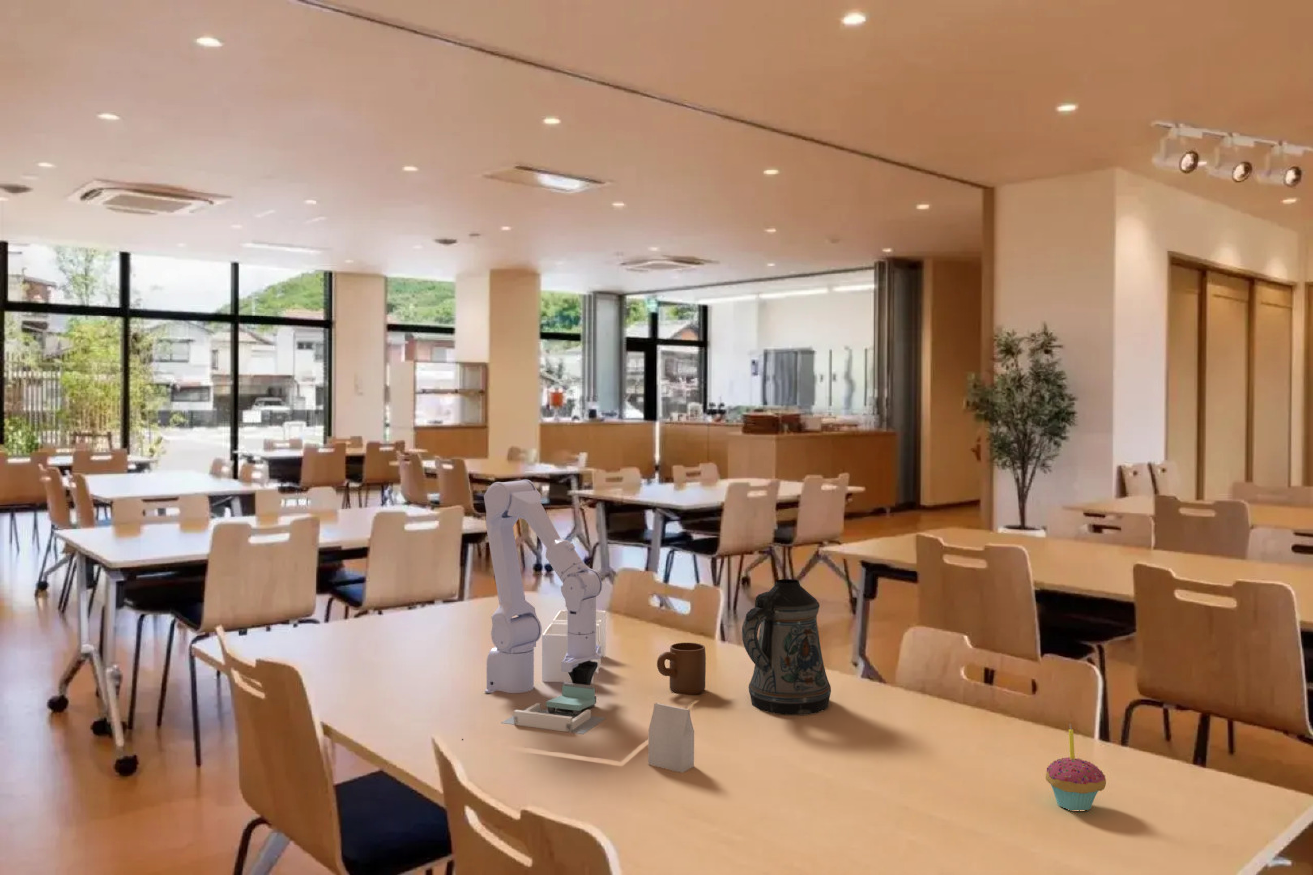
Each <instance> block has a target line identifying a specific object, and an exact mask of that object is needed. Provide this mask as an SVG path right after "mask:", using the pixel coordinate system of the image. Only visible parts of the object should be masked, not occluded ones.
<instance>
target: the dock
mask: <svg viewBox="0 0 1313 875" xmlns="http://www.w3.org/2000/svg"><path fill="white" fill-rule="evenodd" d="M565 712H566V711H563V712H558V710H556V711H554V712H553V713H550V712H549V711H548V710H546V709H541V703H539V702H536V703H535V704H532V705H531V706H529V707H525V708H524V709H515V710H513V715H512V716H510V717H509V718H507V719H505V720H503V721H502V722H501V724H506V725H508V724H509V725H514V726H521V727H528V728H535V729H536V728H537V729H540V730H541V729H542V730H549V731H550V730H551V731H556V732H564V733H571V734H578V735H584V734H586V733H588V732H589V731H590V730H591V729H593V728H594V727H596V726H598V725H599V724H600V723H602V722H603V721H605V719H606V717H601V716H595V715H594V716H593V715H592V710H591V709H585V710H584V711H583V712H581V714H580V715H578V716H575V715H574V714H573V712H571V713H565Z"/></svg>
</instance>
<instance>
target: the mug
mask: <svg viewBox="0 0 1313 875" xmlns="http://www.w3.org/2000/svg"><path fill="white" fill-rule="evenodd" d="M706 655H707V654H706V646H705V645H703V644H701V643H696V642H678V643H677V642H676V643H673V644H672V645H670V647H669V651H665V652H664V651H663V652H662V653H661V654H660V655H659V656H658V657H657V661H656V667H657V669H658V670H657V671H658V672H659V673H660V674H661V675H662V676H664V677H669V689H670V690H669V691H671V692H672V693H673V692H674V693H673V694H677V695H687V696H696V695H700V694H702V693H704V692H705V689H706V676H707V675H706V671H707V668H706V667H707V665H706V660H707V657H706ZM666 660H667V661H669V667H666V664H665V663H666V662H665V661H666Z"/></svg>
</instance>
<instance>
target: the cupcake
mask: <svg viewBox="0 0 1313 875" xmlns="http://www.w3.org/2000/svg"><path fill="white" fill-rule="evenodd" d="M1074 737H1075V736H1074V729H1073V728H1072V724H1071V723H1069V729H1068V741H1069V742H1068V744H1069V746H1068V747H1069V756H1068V757H1061V758H1057V760H1053V761H1052V762H1051V763H1050V764H1049V765H1047V767H1046V772H1045V781H1046V782H1047V783H1048V784H1049V785H1050V786H1051V787H1052V791H1053V794H1054V797H1055V801H1056V804H1057V806H1058V805H1059V806H1058V807H1060V806H1061V807H1063V808H1066V809H1069V810H1079V811H1080V810H1089V809H1090V808H1091V809H1092V805H1093V804H1094V800H1095V798H1096V796H1097V794H1098V792H1101V791H1103V790H1104V789H1105V788H1106V785H1107V779H1106V775H1105V774H1104V773H1103V771H1102V770H1100V768H1099V767H1098V766H1096V764H1094V763H1092V762H1091V761H1088V760H1083V759H1082V758H1075V757H1076V756H1075V740H1074ZM1061 807H1060V808H1061ZM1063 808H1062V809H1063ZM1091 809H1090V810H1091ZM1069 810H1068V811H1069ZM1090 810H1089V811H1090Z"/></svg>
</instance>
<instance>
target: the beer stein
mask: <svg viewBox="0 0 1313 875" xmlns="http://www.w3.org/2000/svg"><path fill="white" fill-rule="evenodd" d="M754 601H755V602H754V607H752V608H751V609H750V610H749V611H747V612H746V615H745V618H744V620H743V623H742V627H741V638H742V639H741V640H742V643H743V647H744V648H745V651H746V653H747V655H748V657H749V658H750V660H751V661H752V663H753V664H754V668H753V669H754V670H753V672H752V677H751V680H750V682H749V684H748V693H749V697H750V701H751V705H752V706H753V707H755V708H756V709H758V710H759V711H763V712H766V713H770V714H775V715H781V716H782V715H783V716H807V715H813V714H818V713H820V712H823V711H826V710H827V709H828V707H829V705H830V704H829V703H830V697H831V693H832V686H831V683H830V682H829V679H828V676H827V673H826V672H827V671H826V668H825V665H824V664H825V663H824V659H823V655H822V649H821V647H822V646H821V643H820V635H819V628H818V621H817V617H818V614H819V610H820V602H819V601H818V600H817V599H816V598H815V597H814V595H812V594H811V593H810V592H808V591H807V590H806V589H805V588H804V587H802V585H801V583H800V581H799V580H798V579H792V578H791V579H790V578H789V579H788V578H782V579H777V580H776V581H775V583H774V585H773V586H772V587H771V589H770V590H769V591H766V592H762V593H758V595H757V596H756V597H755V600H754ZM758 632H759V633H758Z"/></svg>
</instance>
